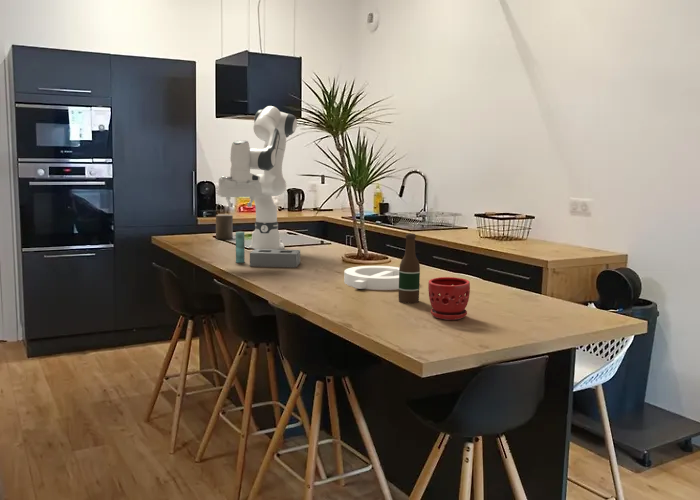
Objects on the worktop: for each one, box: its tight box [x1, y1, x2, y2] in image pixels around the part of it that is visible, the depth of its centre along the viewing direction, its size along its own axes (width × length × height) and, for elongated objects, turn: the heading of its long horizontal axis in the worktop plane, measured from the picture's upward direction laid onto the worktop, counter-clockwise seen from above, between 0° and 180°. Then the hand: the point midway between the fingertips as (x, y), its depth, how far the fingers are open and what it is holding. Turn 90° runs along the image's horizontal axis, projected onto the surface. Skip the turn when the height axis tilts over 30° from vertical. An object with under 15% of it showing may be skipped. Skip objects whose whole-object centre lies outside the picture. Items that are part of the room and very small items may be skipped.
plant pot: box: [427, 276, 471, 321], centre depth 215 cm, size 13×13×12 cm
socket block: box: [249, 248, 301, 268], centre depth 306 cm, size 13×21×6 cm, turn 87°
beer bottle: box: [398, 232, 421, 304], centre depth 235 cm, size 8×8×24 cm
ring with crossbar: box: [343, 265, 400, 291], centre depth 269 cm, size 28×28×5 cm
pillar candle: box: [215, 213, 234, 240], centre depth 389 cm, size 10×10×15 cm
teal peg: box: [235, 231, 246, 264], centre depth 309 cm, size 4×4×14 cm
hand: (240, 206), depth 306 cm, fingers open, 8 cm apart
